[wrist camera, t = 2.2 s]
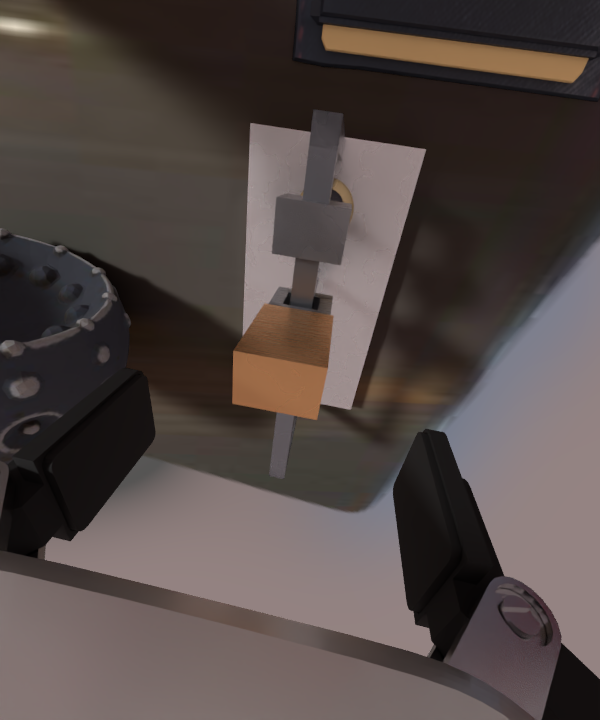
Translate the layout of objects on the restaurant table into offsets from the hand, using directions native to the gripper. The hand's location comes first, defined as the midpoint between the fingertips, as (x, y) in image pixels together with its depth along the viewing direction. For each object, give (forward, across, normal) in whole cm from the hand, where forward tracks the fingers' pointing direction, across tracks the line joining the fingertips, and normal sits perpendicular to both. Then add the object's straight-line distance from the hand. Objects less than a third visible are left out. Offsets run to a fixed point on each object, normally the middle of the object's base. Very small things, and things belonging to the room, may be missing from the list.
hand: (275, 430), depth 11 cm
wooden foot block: (+17, +1, -1) cm, 17 cm away
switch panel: (+20, +1, +1) cm, 20 cm away
